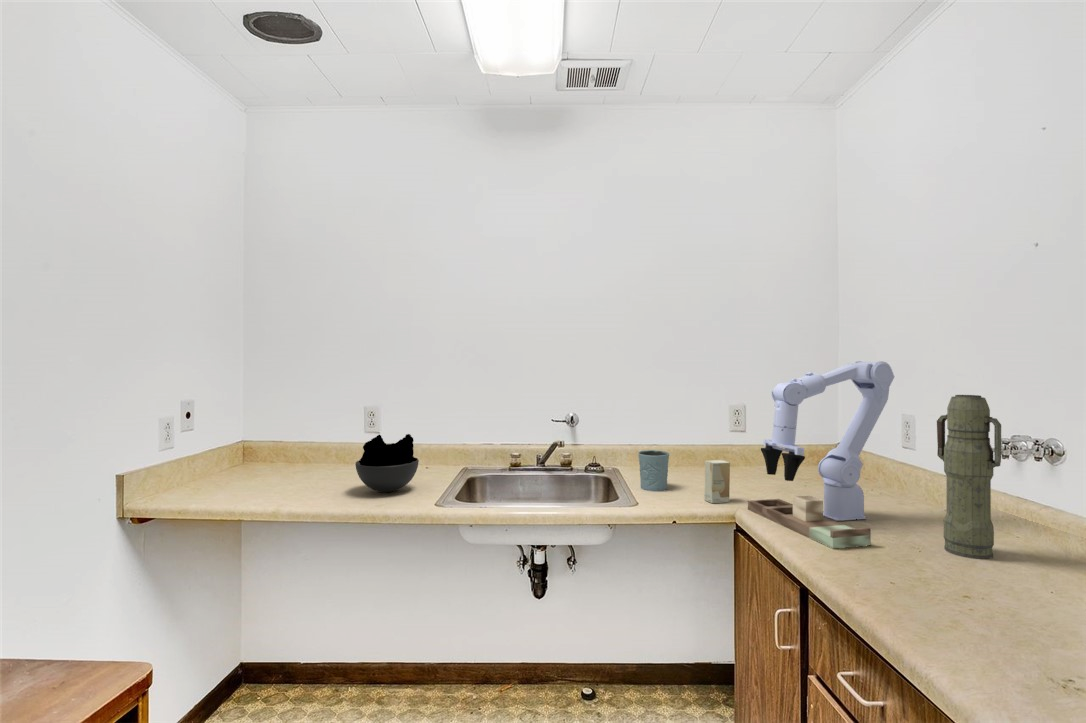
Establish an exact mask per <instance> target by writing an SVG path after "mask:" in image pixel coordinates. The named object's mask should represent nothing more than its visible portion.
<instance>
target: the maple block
mask: <svg viewBox="0 0 1086 723" xmlns="http://www.w3.org/2000/svg"><path fill="white" fill-rule="evenodd" d="M792 504H793V516H794V517H796V518H799V519H801V520H803V521H806V522H807V521H820V520H823V511H824V499H821V498H817V497H814V496H812V495H803V496H802V495H800V496H797V495H796V496H792Z"/></svg>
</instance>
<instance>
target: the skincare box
mask: <svg viewBox="0 0 1086 723" xmlns="http://www.w3.org/2000/svg"><path fill="white" fill-rule="evenodd" d="M730 476H731V462H729V461H727V460H723V459H718V460H717V459H716V460H705V461H704V501H706V502H708V503H710V504H720V503H721V504H723V503H730V482H731V480H730V478H731V477H730Z"/></svg>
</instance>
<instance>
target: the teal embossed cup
mask: <svg viewBox="0 0 1086 723" xmlns="http://www.w3.org/2000/svg"><path fill="white" fill-rule="evenodd" d="M637 454H638V461H639V463H638V464H639V477H640V479H639V480H640V489H642V490H643V491H649V492H664V491H667V489H668V473H669V460H670V458H669V457H670V452H668V451H666V450H654V449H651V450H650V449H647V450H639V451H638V452H637Z"/></svg>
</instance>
